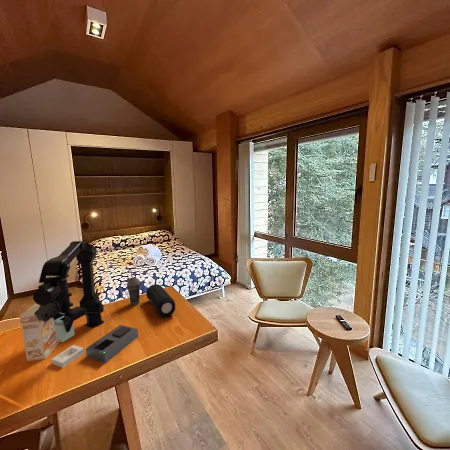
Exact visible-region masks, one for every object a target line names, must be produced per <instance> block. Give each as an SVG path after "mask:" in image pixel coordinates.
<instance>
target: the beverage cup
mask: <svg viewBox="0 0 450 450" xmlns="http://www.w3.org/2000/svg"><path fill="white" fill-rule="evenodd" d="M130 275H131V277H130V278H128V280H127V283H126V288H127V291H128V295H129V300H130V305H131V306H138V305H139V304H140V299H141V298H140V294H141V293H140V291H141V289H140V288H141V281H140V280H139V278H138V277H133V272H132V270H130Z"/></svg>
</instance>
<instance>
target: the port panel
mask: <svg viewBox="0 0 450 450" xmlns="http://www.w3.org/2000/svg"><path fill="white" fill-rule="evenodd" d="M137 338H139V330H138V328H135V327H130V326H128V325H123V324H119V325H117V326H116V327H115V328H114V329H112V330H110V331H109V332H108V333H106V334H105V335H103V336H102V337H100V338H99V339H97V340H96V341H95V342H94V343H91V344H90V345H89V346H87V347H86V348H85V356H86V358H89V359H92V360H95V361H97V362H100V363H104V364H106V363H108V362H109V361H110V360H111V359H113V358H114V357H115V356H116V355H118V354H119V353H120V352H121V351H122V350H124V349H125V348H126V347H127V346H128V345H130V344H131V343H132V342H133V341H134V340H136V339H137Z"/></svg>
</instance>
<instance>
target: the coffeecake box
mask: <svg viewBox="0 0 450 450" xmlns="http://www.w3.org/2000/svg"><path fill="white" fill-rule="evenodd" d="M39 307H40V305H38V304H36V303H35V302H34V304H33V305H32V306H30V307H29V308H28V309H26V310H25V311H24V312H23V313H21V314H20V315H19V319H20V327H21V333H22V338H23V343H24V344H23V345H24V350H25V352H24V353H25V355H26V356H25V357H26V361H27V362H31V361H40V360H41V361H42V360H46V359H47V358H48V357H49V355H51V353H52V352H53V351H54V350H55V348H56V347H57V345H58V344H59V343H60V342H61V341H58V340H57V337H56V330H55V324H54V319H53V318H50V319H49V320H48V321H46V322H44V321H41V320H38V318H37V317H36V316H35V314H34V313H35V312H36V311H37V310H38V309H39Z"/></svg>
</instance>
